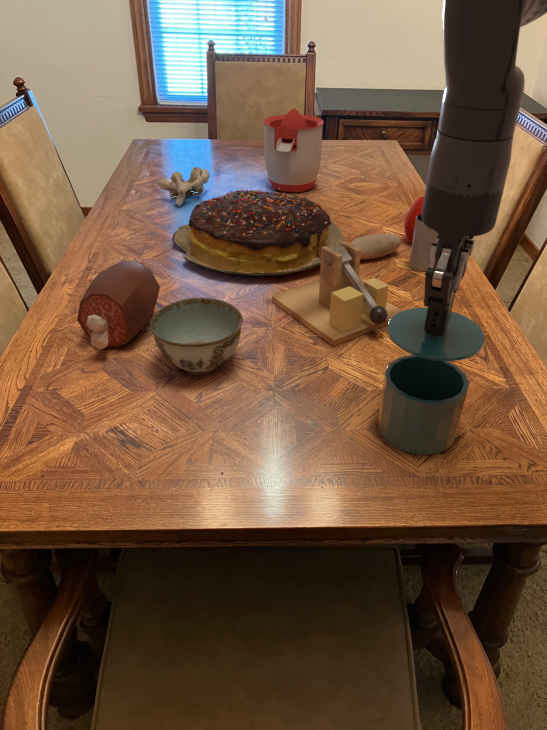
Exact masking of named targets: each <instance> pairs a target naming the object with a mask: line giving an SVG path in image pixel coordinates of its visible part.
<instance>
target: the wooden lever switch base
mask: <svg viewBox="0 0 547 730" xmlns="http://www.w3.org/2000/svg"><path fill="white" fill-rule="evenodd" d="M350 243H351V242H350ZM350 243H349V242H348V241H346V240H345V241H342V242H340V247H343V246H344V247H345V248H346V250H347V251H348V253H349V254H350V256H351V257H352V260H351V262H350V263H349V264H350V265H351V267H352V268H353V270H354V271H355V273H356V274H357V276H358V277H359V275H360V265H361V259H360V256H361V249H359V248H357V247H355V246H354V245H352V244H350ZM342 256H343V255H341V254H340V253H338V252H336V251H334V250H332V249H330V248H329V247H327V246H324V247H322V248H321V264H320V265H319V266H320V269H319V280H316V281H313V282H310V283H306V284H303V285H301V286H297V287H295V288H291V289H288V290H284V291H281V292H279V293H276V294H272V295H271V302H272V303H274V304H275V305H276V306H278V307H279V308H280V309H282V310H283V311H284V312H285V313H287V314H289V315H290V316H291V317H293V318H294V319H295V320H296V321H298V322H300V323H301V324H303V325H304V326H305V327H306V328H307V329H309V330H311V331H312V332H313V333H314V334H316V335H317V336H318V337H320V338H321V339H323V340H324V341H325V342H326V343H328V344H329V345H331V346H332V347H335V346H338V345H340V344H343V343H345V342H348V341H350V340H353V339H355V338H358V337H360V336H363V335H365V334H369V333H370V332H373V331H376V330H378V329H381V328H383V327H386V326H388V323H389V321H390V319H391V318H392V317H393V316H394V315H396V314H397V313H399V312H401V311H403V310H402V309H401V308H399V307H397V306H396V305H394V304H392V303H390V302H388V301H387V302H386V310H387V313H388V317H387V320H386V321H385V322H384V323H382V324H374V323H373V322H372V321H371V320H370V318H369V317H367V316H366V315H364V314H363V313H362V314H361V323H360V326H358V327H356V328H353V329H350V330H348V331H345V332H343V333H341V332H340V331H339V330H337V329H336V328H334V327H333V326H331V325H330V324H329V318H330V304H331V292H334V291H337V290H340V289H343V288H346V287H349V286H351V287H352V288H354V289H355V287H354V286H353V284H352V283H351V281H350V280H349V278H348V277H347V275H346V274H345V272H344V270H343V269H342ZM359 278H360V277H359Z"/></svg>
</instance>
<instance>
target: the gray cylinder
mask: <svg viewBox="0 0 547 730" xmlns="http://www.w3.org/2000/svg"><path fill="white" fill-rule="evenodd" d="M421 215H422V214H420V215H418V216H416V221H415V227H414V234H413V240H412V243H411V247H410V254H409V261H408V267H409V268H410V269H412V270H414V271H418V272H426V271H427V269H428V267H429V266H430V259H429V254H430V249H431V245H432V243H433V242H435V243H436V238H437V232H436V231H434V230H433V229H430V228H428V227H427V226H426V225H425V224H424V223H423V221H422V219H421Z"/></svg>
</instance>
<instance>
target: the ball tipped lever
mask: <svg viewBox="0 0 547 730" xmlns="http://www.w3.org/2000/svg"><path fill="white" fill-rule="evenodd" d="M334 251H336V252H338V253H340V254H341V255H343V256H342V269H343V270H344V272H345V274H346V275H347V277H348V278H349V280H350V281H351V283H352V284H353V286H354V287H355V289H356V290H357V291H359V292H361V293H362V294H364V295H363V301H364V302H365V304H366V305H367V307H368V308H369V310H370V313H369V318H370V320H371V321H372V322H373V323H374V324H382V323H384V322H385V321H386V320H387V317H388V313H387V310H386V309H385V308H384V307H382V306H377V304H376V303H375V301H374V300H373V298H372V297H371V295H370V294H369V292H368V291H367V289H366V288H365V286H364V282H362V280H361V279H360V277H358V276H357V274H356V273H355V271H354V270H353V268H352V267H351V265H350V264H349V263H350V262H351V260H352V257H351V256H350V254H349V253H348V251H347V250H346V248H345V247H344V246H343V247H339V248H336V249H334Z"/></svg>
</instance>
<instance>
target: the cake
mask: <svg viewBox="0 0 547 730" xmlns="http://www.w3.org/2000/svg"><path fill="white" fill-rule="evenodd" d="M345 239H346V238H345V235H344V233H343V231H342V229H341V228H340V227H339V226H338V225H337V224H336V223H335V222H333V221H332V220H331V216H330V215H329V213H328V212H327V211H326V209H323V208H322V206H321V205H319V204H317V203H316V202H313V201H311V200H309V199H308V198H307V197H305V196H303V197H302V196H298V195H296V194H290V193H285V192H277V191H269V190H267V191H266V190H265V191H262V190H260V189H257V190H252V189H250V190H248V189H246V190H244V189H241V190H235V191H229V192H226V194H224V195H221V196H217V197H212V198H209V199H208V200H206V199H205V200H201V202H199V203H196V204H195V206H194V207H193V209H192V211H191V213H190V216H189V220H188V223H187V224H183V225H181V226H179V227H178V229H176V230H175V231H174V232H173V234H172V237H171V241H172V242H174V243H175V244H176V245H177V246H178V247H180V248H181V249H182V250H183V251H184V252H185V254H182V257H183V259H184V260H186V261H189V262H193V263H194V264H196V265H199V266H200V267H203V268H206V269H209V270H214V271H217V272H221V273H224V274H226V275H227V274H230V275H239V276H259V277H260V276H263V277H264V276H281V275H292V274H294V273H298V272H302V271H307V270H311V269H313V268H315V267H318V266H321V248H322V247H324V246H327V247H329V248H330V249H332V250H334V249H336V248H339V247H340V242H342V241H346V240H345Z"/></svg>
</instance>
